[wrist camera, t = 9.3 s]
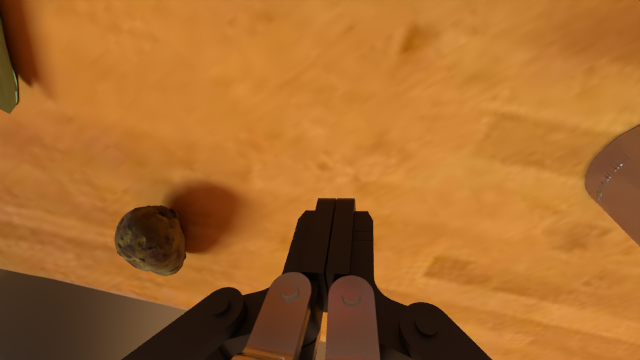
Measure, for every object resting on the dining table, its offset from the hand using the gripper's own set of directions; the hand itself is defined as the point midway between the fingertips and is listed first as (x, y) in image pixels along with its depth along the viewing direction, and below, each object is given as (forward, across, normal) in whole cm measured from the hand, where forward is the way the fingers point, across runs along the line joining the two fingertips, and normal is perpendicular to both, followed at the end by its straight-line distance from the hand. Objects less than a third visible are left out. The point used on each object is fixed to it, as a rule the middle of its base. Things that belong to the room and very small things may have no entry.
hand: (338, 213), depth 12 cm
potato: (+14, +24, +15) cm, 32 cm away
